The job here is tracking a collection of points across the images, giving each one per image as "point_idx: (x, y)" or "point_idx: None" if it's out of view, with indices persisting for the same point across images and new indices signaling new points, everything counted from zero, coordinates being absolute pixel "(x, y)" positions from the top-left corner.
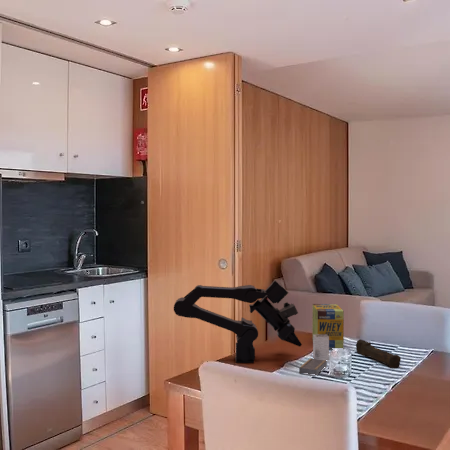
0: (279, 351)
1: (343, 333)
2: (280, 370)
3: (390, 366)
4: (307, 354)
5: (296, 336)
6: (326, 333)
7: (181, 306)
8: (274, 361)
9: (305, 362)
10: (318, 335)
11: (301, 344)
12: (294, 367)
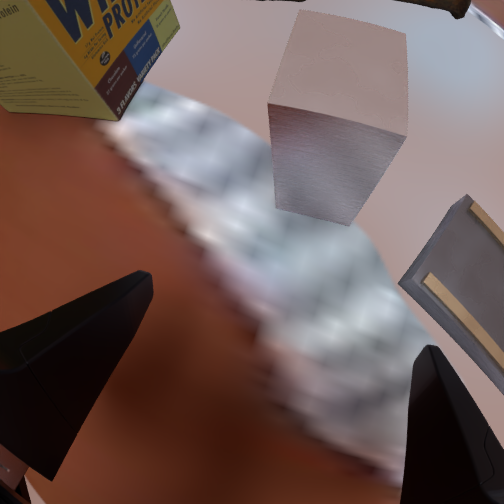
0: None
1: None
2: None
3: (462, 16)
4: (176, 205)
5: (137, 286)
6: (108, 21)
7: None
8: (262, 481)
9: (491, 353)
10: (341, 75)
11: (438, 351)
12: None
